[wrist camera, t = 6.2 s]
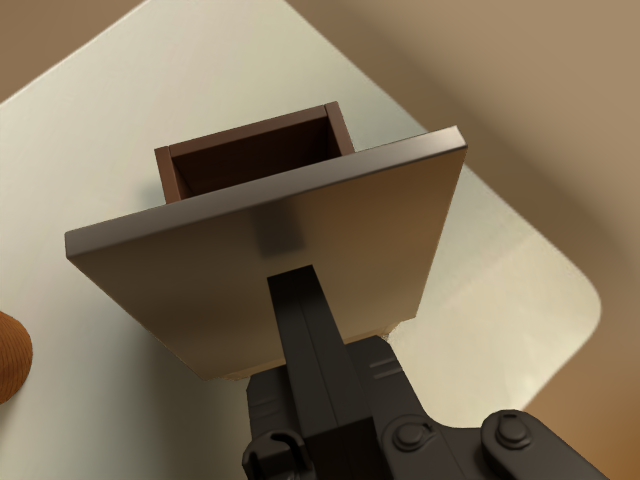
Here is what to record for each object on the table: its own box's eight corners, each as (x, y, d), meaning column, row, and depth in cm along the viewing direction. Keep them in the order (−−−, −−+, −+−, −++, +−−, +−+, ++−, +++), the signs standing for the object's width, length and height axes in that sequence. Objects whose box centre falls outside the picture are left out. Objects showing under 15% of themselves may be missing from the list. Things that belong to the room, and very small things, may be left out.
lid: (62, 231, 13) (64, 258, 13) (457, 123, 14) (469, 146, 14) (201, 365, 25) (204, 382, 25) (410, 303, 26) (415, 317, 26)
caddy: (191, 205, 37) (153, 148, 29) (333, 166, 38) (337, 100, 30) (234, 381, 34) (204, 374, 25) (389, 333, 35) (411, 311, 26)
